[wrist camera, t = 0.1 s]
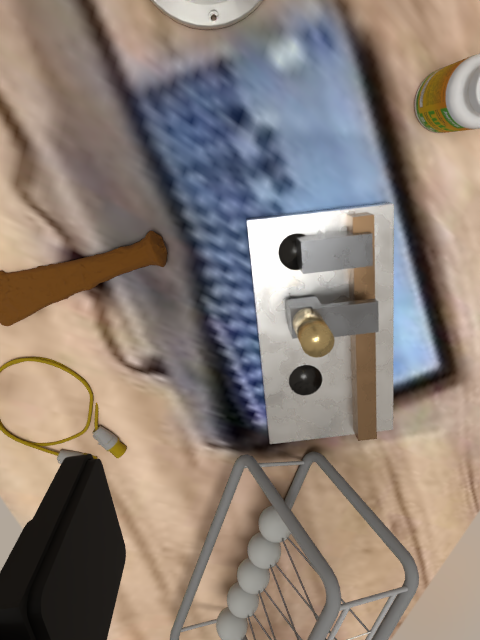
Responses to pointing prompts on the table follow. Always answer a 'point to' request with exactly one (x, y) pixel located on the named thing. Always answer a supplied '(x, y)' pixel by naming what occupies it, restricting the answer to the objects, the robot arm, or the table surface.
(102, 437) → the extension cord
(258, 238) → the bolt plate
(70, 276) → the primitive tool
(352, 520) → the table surface
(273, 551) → the newton's cradle
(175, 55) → the table surface
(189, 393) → the table surface
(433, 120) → the supplement bottle
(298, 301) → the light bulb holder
